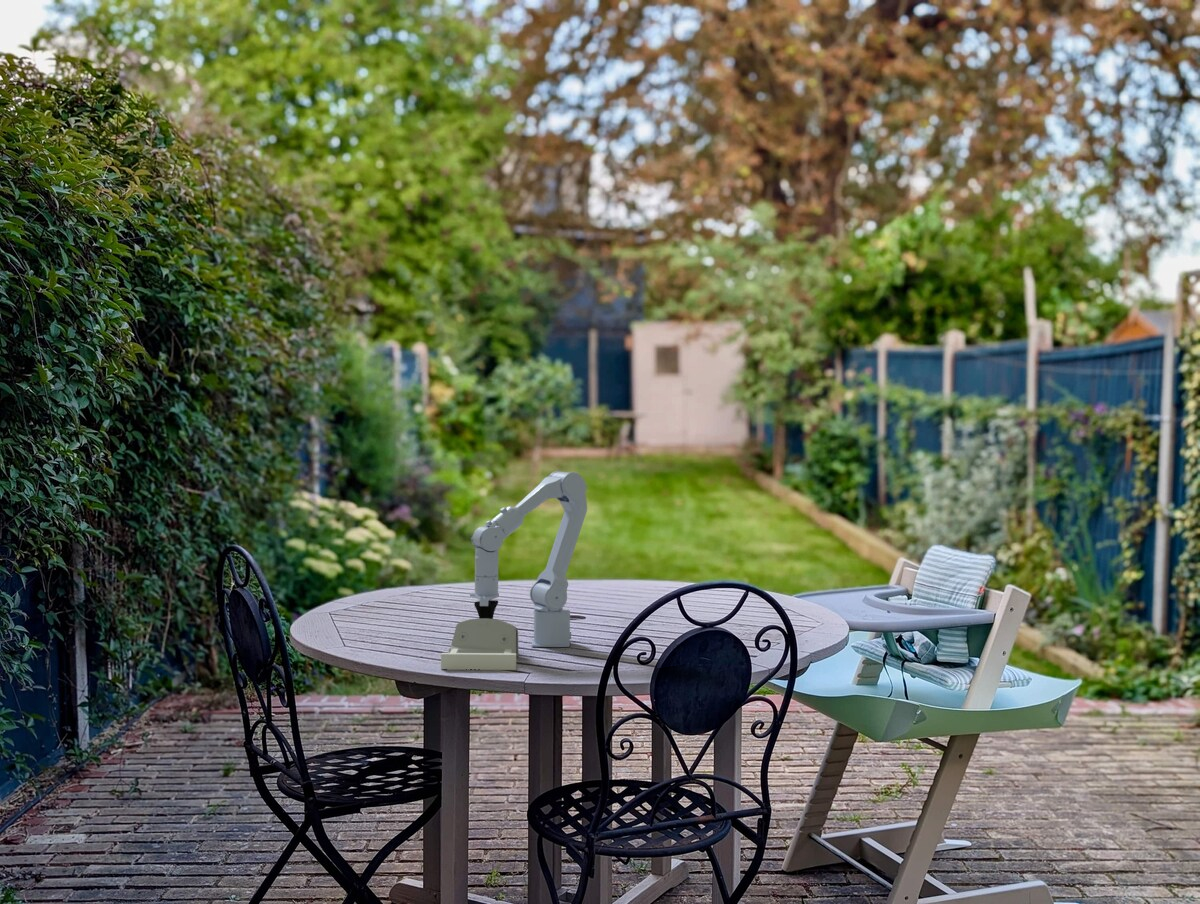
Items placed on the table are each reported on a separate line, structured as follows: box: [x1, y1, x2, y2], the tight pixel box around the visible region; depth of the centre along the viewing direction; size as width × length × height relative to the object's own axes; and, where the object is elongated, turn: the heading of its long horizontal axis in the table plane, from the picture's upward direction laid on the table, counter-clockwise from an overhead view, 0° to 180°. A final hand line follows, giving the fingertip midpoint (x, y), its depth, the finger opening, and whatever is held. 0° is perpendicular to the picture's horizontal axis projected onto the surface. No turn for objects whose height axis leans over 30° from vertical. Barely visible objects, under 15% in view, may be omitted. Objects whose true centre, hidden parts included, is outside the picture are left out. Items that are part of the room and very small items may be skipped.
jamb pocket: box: [440, 649, 517, 671], centre depth 261 cm, size 17×8×4 cm, turn 91°
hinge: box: [448, 617, 519, 658], centre depth 272 cm, size 17×5×10 cm, turn 75°
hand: (486, 630), depth 277 cm, fingers closed
